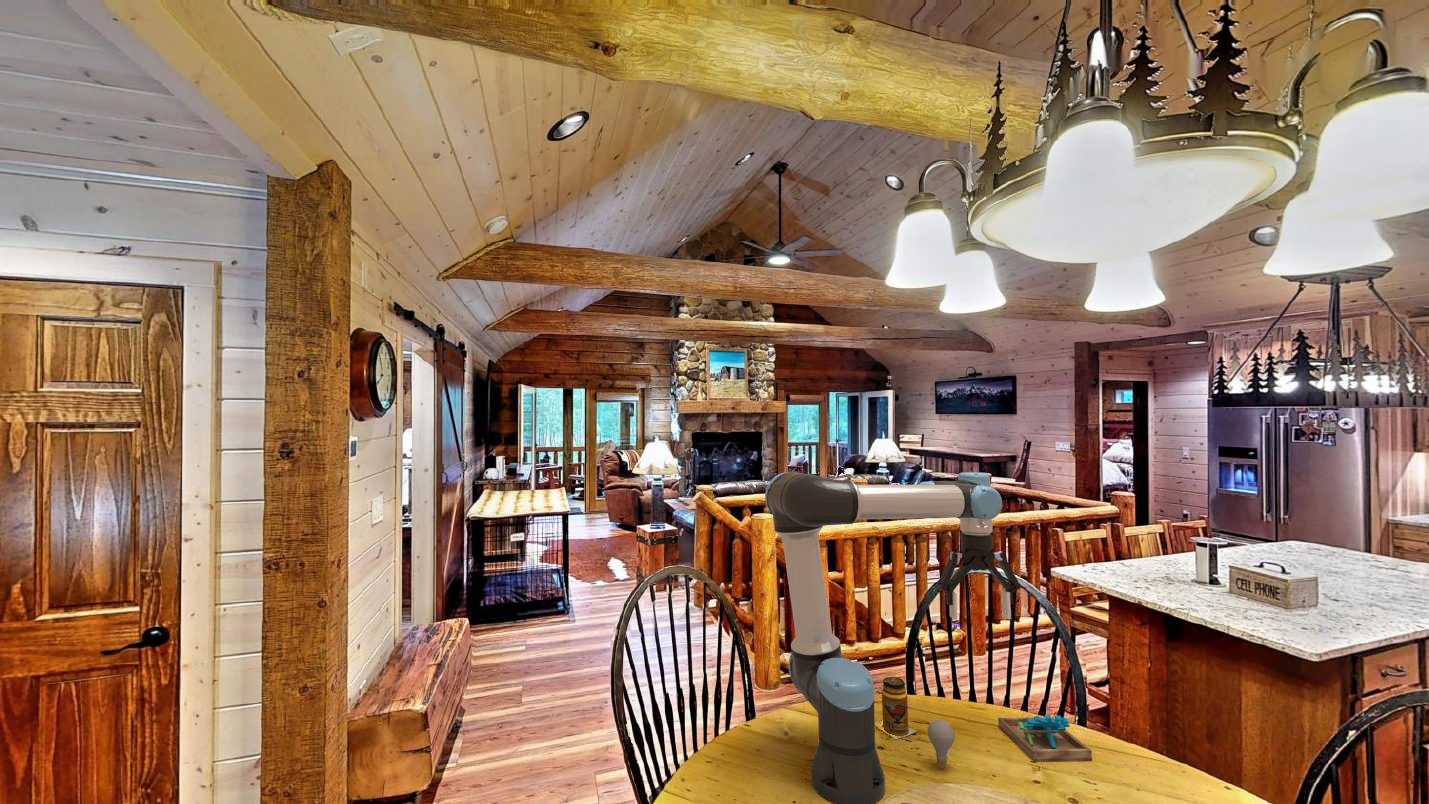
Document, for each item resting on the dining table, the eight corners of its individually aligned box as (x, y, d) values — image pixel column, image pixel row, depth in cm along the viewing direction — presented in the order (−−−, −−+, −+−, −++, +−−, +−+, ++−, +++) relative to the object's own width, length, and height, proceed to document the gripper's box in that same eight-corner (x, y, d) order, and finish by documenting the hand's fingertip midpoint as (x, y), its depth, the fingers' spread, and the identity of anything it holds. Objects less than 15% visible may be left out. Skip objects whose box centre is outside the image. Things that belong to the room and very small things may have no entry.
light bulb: (939, 777, 117) (937, 728, 117) (923, 763, 122) (921, 716, 123) (961, 773, 118) (959, 725, 119) (944, 759, 123) (942, 713, 124)
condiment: (895, 740, 131) (894, 688, 132) (870, 724, 139) (868, 675, 140) (917, 732, 135) (915, 682, 136) (891, 717, 142) (889, 669, 143)
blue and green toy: (1064, 727, 132) (1070, 710, 126) (1075, 755, 128) (1081, 739, 122) (1015, 728, 135) (1018, 712, 129) (1024, 756, 130) (1027, 740, 124)
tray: (1033, 761, 122) (1033, 751, 122) (998, 726, 137) (998, 717, 137) (1092, 760, 122) (1091, 750, 122) (1050, 726, 137) (1050, 717, 137)
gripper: (934, 535, 137) (937, 622, 135) (1033, 534, 137) (1037, 621, 135) (922, 531, 144) (925, 613, 143) (1016, 530, 145) (1020, 612, 143)
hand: (980, 617), depth 139 cm, fingers open, 13 cm apart
